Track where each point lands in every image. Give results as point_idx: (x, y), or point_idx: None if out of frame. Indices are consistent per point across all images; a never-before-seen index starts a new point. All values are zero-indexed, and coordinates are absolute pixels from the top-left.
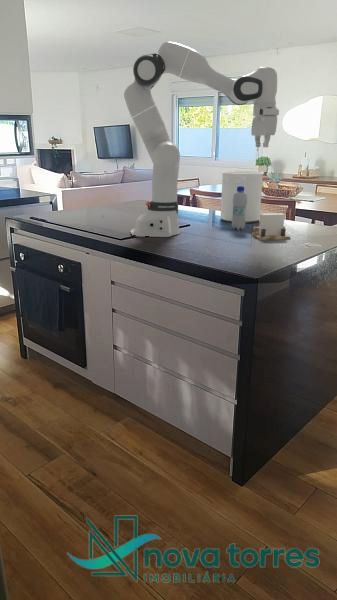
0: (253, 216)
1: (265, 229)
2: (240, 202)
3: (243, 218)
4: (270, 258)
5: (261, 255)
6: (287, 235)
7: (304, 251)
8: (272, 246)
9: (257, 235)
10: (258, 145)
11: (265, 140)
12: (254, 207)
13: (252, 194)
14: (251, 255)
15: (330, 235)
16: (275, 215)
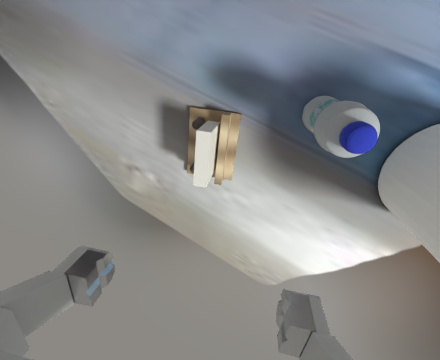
0: (383, 193)
1: (194, 128)
2: (318, 119)
3: (307, 124)
4: (45, 54)
5: (65, 46)
6: None
7: (97, 141)
8: (133, 105)
9: (210, 114)
10: (285, 312)
11: (16, 289)
12: (397, 207)
13: (424, 220)
14: (63, 24)
15: (204, 246)
16: (195, 163)
